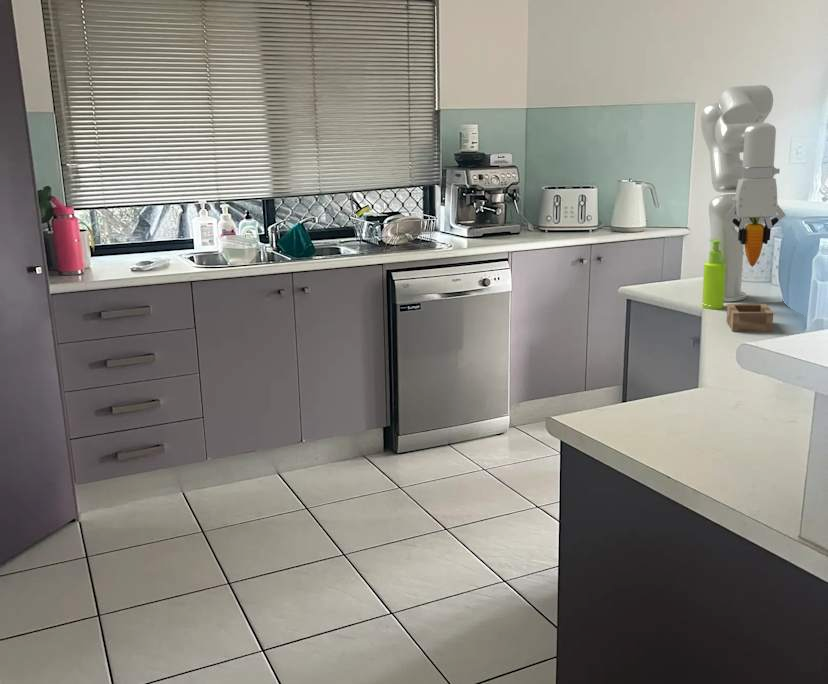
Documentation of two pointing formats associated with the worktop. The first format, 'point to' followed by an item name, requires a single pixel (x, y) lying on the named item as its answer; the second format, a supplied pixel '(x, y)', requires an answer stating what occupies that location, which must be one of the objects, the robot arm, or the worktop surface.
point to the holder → (749, 317)
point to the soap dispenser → (714, 279)
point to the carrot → (754, 240)
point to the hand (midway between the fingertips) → (753, 242)
